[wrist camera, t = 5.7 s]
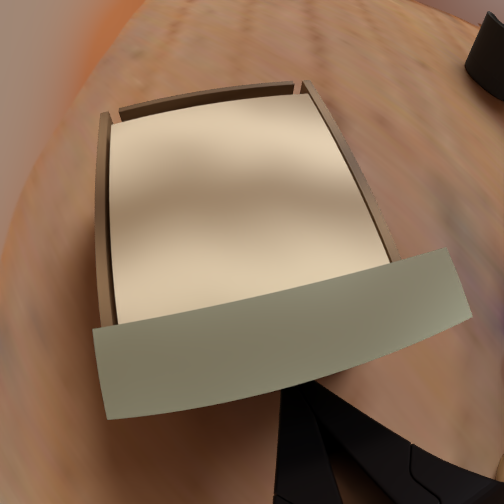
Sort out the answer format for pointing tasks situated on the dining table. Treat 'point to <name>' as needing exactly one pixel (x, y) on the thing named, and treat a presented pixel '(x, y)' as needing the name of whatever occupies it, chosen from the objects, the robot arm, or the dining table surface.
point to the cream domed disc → (500, 470)
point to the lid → (249, 261)
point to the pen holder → (488, 57)
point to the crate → (191, 100)
